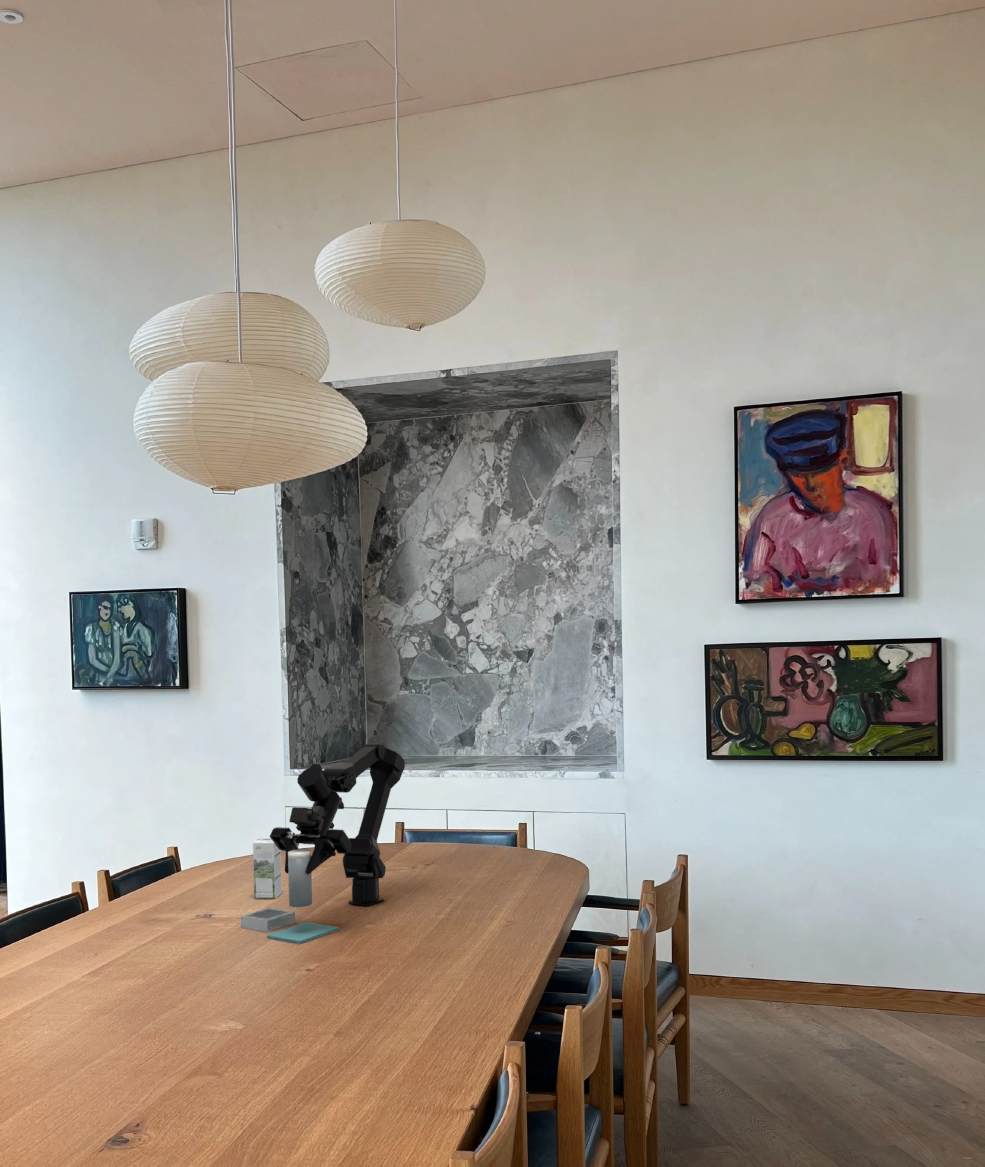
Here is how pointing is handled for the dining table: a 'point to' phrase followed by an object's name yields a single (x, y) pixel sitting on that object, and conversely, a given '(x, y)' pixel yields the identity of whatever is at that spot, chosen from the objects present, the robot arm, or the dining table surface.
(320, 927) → the mat
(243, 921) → the collar
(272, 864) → the syrup box
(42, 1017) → the dining table surface
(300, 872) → the ball
